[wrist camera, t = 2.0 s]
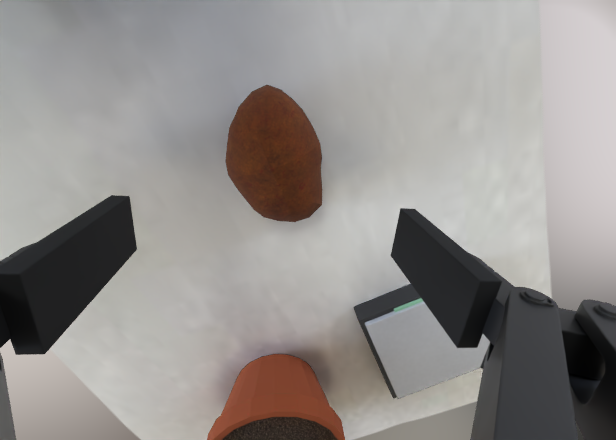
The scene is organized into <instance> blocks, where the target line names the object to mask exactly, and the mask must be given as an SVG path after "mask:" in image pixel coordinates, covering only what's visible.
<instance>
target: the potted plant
mask: <svg viewBox="0 0 616 440" xmlns="http://www.w3.org/2000/svg"><path fill="white" fill-rule="evenodd" d="M207 440H345V437H344V432H343V427H342V422H341V419H340V418H339V417H338V415H337V414H336V413H335V411H334V410H333V408H331V407H330V405H329V403H328V401H327V399H326V397H325V394H324V392H323V390H322V388H321V386H320V384H319V382H318V380H317V377H316V375H315V373H314V371H313V370H312V369H311V367H310V366H309V364H307V363H306V362H304V361H303V360H301V359H300V358H297V357H294V356H291V355H284V354H273V355H268V356H263V357H260V358H258V359H256V360H254V361H252V362H250V363H249V364H248V365H247V366H245V367H244V368H243V369H242V370H241V372H240V374H239V376H238V377H237V379H236V382H235V384H234V386H233V389H232V391H231V393H230V396H229V398H228V400H227V402H226V405H225V407H224V409H223V412H222V414H221V416H220V417H219V418H217V419H216V421H215V423H214V425H213V426H212V428H211V430H210V432H209V433H208V438H207Z"/></svg>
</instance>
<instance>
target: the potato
mask: <svg viewBox="0 0 616 440" xmlns="http://www.w3.org/2000/svg"><path fill="white" fill-rule="evenodd" d="M321 160H322V155H321V147H320V142H319V140H318V138H317V135H316V133H315V131H314V129H313V127H312V125H311V123H310V121H309V119H308V118H307V116H306V115H305V113H304V112H303V110H302V109H301V108H300V107H299V106H298V105H297V104H296V102H295V101H294V100H293V99H292V98H290V97H289V96H288V95H287V94H286V93H284V92H283V91H282V90H280V89H277V88H275V87H272V86H269V85H265V86H263V87H261V88H259V89H257V90H255V91H252V92H251V93H250V95H249V96H248V97H247V98H246V99H245V100H244V101H243V103H242V104H241V105H240V106H239V107H238V110H237V112H236V115H235V117H234V119H233V121H232V123H231V126H230V128H229V134H228V142H227V152H226V166H227V171H228V175H229V177H230V178H231V180H232V181H233V183H234V185H235V186H236V188H237V189H238V190H239V191H240V193H241V194H242V195H243V197H244V198H245V199H246V200H247V201H248V203H249V204H250V205H251V206H252V208H253V209H254V210H255V211H257V212H258V213H259V214H261V215H262V216H263V217H266V218H269V219H273V220H277V221H289V222H296V221H300V220H303V219H306V218H309V217H310V216H311V215H312V214H313V213H314V212H315V211H316V210H317V209H318V208H319V207H320V206H321V205H322V182H321Z"/></svg>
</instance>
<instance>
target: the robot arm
mask: <svg viewBox="0 0 616 440" xmlns="http://www.w3.org/2000/svg"><path fill="white" fill-rule="evenodd" d="M136 250H137V247H136V240H135V233H134V226H133V218H132V211H131V204H130V197H129V196H113V195H112V196H110V197H108V198H107V199H105V200H104V201H102V202H100V203H99V204H97V205H96V206H94V207H92V208H91V209H89V210H88V211H86V212H84V213H83V214H81V215H80V216H78V217H77V218H75V219H73V220H72V221H70V222H69V223H67V224H65V225H64V226H62V227H61V228H59V229H57V230H56V231H54V232H53V233H51V234H50V235H48V236H46V237H45V238H43V239H42V240H40V241H38V242H37V243H34V244H31V245H29V246H26V247H23V248H21V249H19V250H18V251H16V252H15V253H13V254H11V255H10V256H9V257H6V258H5V259H3V260H2V261H0V348H1V347H2V346H3V345H4V344H5V343H6V342H7V341H8V340H9V339H11V342H12V345H13V348H14V350H15V353H16V354H18V355H20V354H45V353H46V352H47V351H48V350H49V349H50V347H51V346H52V345H53V344H54V343H55V342H56V341H57V340H58V338H59V337H60V336H61V335H62V334H63V333H64V332H65V330H66V329H67V328H68V327H69V326H70V325H71V324H72V322H73V321H74V320H75V319H76V318H77V317H78V316H79V315H80V313H81V312H82V311H83V310H84V309H85V308H86V307H87V305H88V304H89V303H90V302H91V301H92V300H93V299H94V297H95V296H96V295H97V294H98V293H99V292H100V291H101V290H102V288H103V287H104V286H105V285H106V284H107V283H108V282H109V280H110V279H111V278H112V277H113V276H114V275H115V274H116V272H117V271H118V270H119V269H120V268H121V267H122V266H123V265H124V263H125V262H126V261H127V260H128V259H129V258H130V257H131V255H132V254H133V253H134V252H135V251H136ZM391 257H392V258H393V259H394V261H395V262H396V263H397V265H398V266H399V268H400V269H401V270H402V272H403V273H404V275H405V276H406V277H407V279H408V280H409V282H410V283H411V284H412V286H413V287H414V289H415V290H416V291H417V293H418V294H419V296H420V297H421V298H422V300H423V301H424V303H425V304H426V305H427V307H428V308H429V310H430V311H431V312H432V314H433V315H434V317H435V318H436V319H437V321H438V322H439V323H440V325H441V326H442V328H443V329H444V330H445V332H446V333H447V335H448V336H449V337H450V339H451V340H452V342H453V343H454V344H455V346H456V347H457V348H477V347H478V345H479V342H480V339H481V337H482V334H484V336H485V337H486V338H487V339H488V340H489V341H490V343H489V346H488V348H487V351H486V354H485V356H484V359H483V361H482V364H481V366H480V368H482V369H483V373H482V379H481V384H480V390H479V395H478V401H477V406H476V412H475V417H474V423H473V428H472V434H471V439H470V440H578V435H577V429H576V423H577V425H578V427H579V429H580V431H581V433H582V436H583V438H584V440H616V306H614V305H613V306H612V305H611V304H609V303H603V302H600V301H595V300H584V301H582V303H581V304H580V306H579V308H578V310H577V311H572V310H566V309H561V308H558V306H557V304H556V302H554V301H553V300H552V299H551V298H550V297H548V296H546V295H544V294H543V293H540V292H538V291H535V290H533V289H529V288H525V287H514V286H513V285H511V284H510V283H509V282H508V281H507V280H505V279H504V278H503V277H502V276H500V275H499V274H498V273H497V272H494V270H493V269H492V268H490V267H489V266H487V264H485V263H484V262H483V261H482V260H481V259H479V258H477V257H476V256H474V255H472V254H470V253H468V252H466V251H465V250H464V249H462V248H461V247H460V246H459V245H458V244H456V243H455V242H454V241H453V240H452V239H450V238H449V237H448V236H447V235H446V234H444V233H443V232H442V231H441V230H439V229H438V228H437V227H436V226H435V225H433V224H432V223H431V222H430V221H429V220H427V219H426V218H425V217H424V216H423V215H421V214H420V213H419V212H418V211H416V210H415V209H400V214H399V219H398V224H397V229H396V233H395V238H394V243H393V248H392V253H391ZM575 420H576V422H575ZM0 440H16V436H15V430H14V424H13V418H12V413H11V406H10V400H9V394H8V388H7V382H6V376H5V371H4V365H3V359H2V356H1V353H0Z"/></svg>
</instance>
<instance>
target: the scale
mask: <svg viewBox="0 0 616 440" xmlns="http://www.w3.org/2000/svg"><path fill="white" fill-rule="evenodd" d="M354 310H355V312H356V315H357V318H358V321H359V323H360V325H361V327H362V330H363V332H364V334H365V336H366V338H367V341H368V343H369V345H370V347H371V350H372V352H373V354H374V356H375V359H376V361H377V363H378V365H379V368H380V370H381V372H382V374H383V376H384V379H385V381H386V383H387V385H388V388H389V390H390V392H391V394H392V397H393V398H396V397H397V399H399V398H402V397H405V396H407V395H410V394H413V393H415V392H418V391H421V390H423V389H426V388H429V387H431V386H434V385H436V384H439V383H442V382H444V381H447V380H450V379H452V378H455V377H458V376H460V375H463V374H466V373H468V372H471V371H474V370H476V369H479V368H480V366H481V364H482V361H483V359H484V356H485V354H486V351H487V348H488V346H489V343H490V341H489V340H488V339H487V338H486V337H485V336H484V334H482V337H481V339H480V342H479V345H478V347H477V348H457V347H456V346H455V344H454V343H453V342H452V340H451V339H450V337H449V336H448V335H447V333H446V332H445V330H444V329H443V328H442V326H441V325H440V323H439V322H438V321H437V319H436V318H435V317H434V315H433V314H432V312H431V311H430V310H429V308H428V307H427V305H426V304H425V303H424V301H423V300H422V298H421V297H420V296H419V294H418V293H417V291H416V290H415V289H414V287H413V286H412V284H410V285H407V286H405V287H402V288H400V289H397V290H395V291H392V292H390V293H387V294H385V295H382V296H380V297H377V298H375V299H372V300H370V301H367V302H365V303H362V304H360V305H357V306H355V307H354Z"/></svg>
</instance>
